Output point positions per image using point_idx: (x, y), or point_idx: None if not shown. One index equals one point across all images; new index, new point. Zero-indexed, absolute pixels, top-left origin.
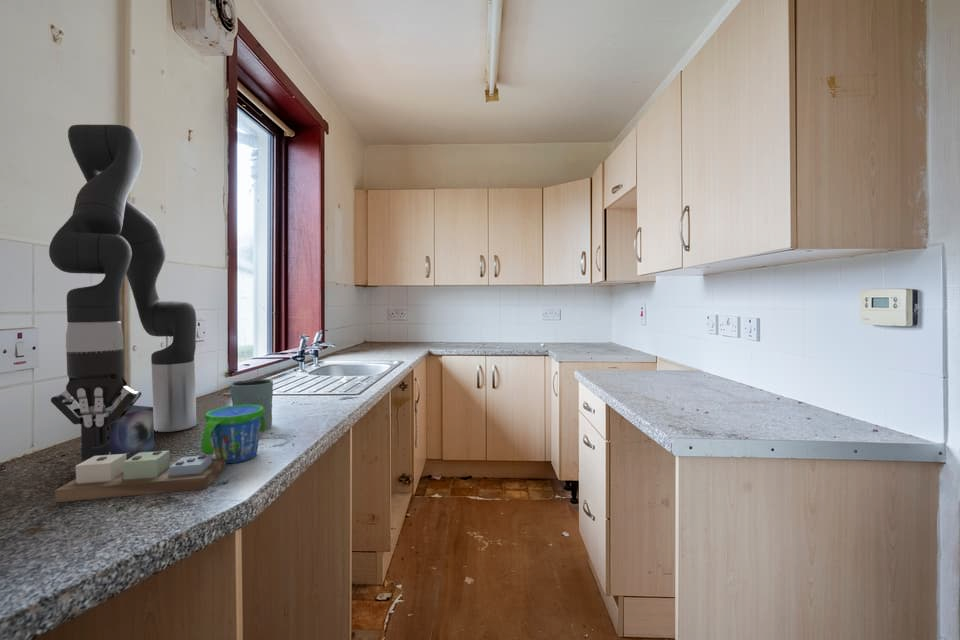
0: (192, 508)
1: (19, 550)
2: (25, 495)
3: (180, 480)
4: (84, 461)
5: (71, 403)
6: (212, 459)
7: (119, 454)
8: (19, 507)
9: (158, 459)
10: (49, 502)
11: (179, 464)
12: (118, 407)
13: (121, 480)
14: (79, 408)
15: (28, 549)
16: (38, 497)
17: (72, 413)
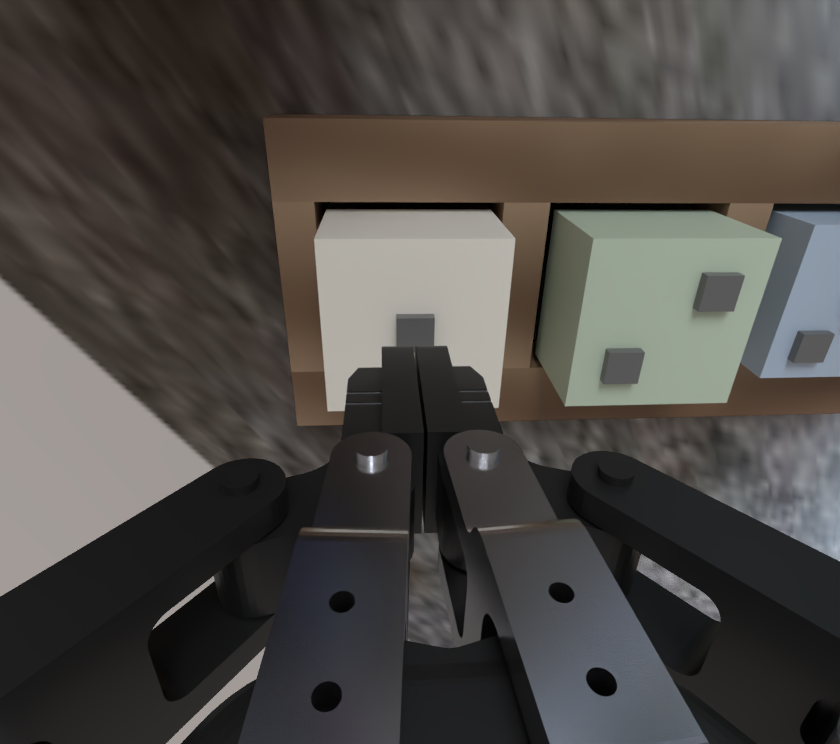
0: (793, 522)
1: (435, 643)
2: (84, 288)
3: (779, 412)
4: (325, 345)
5: (19, 737)
6: None
7: (477, 249)
8: (190, 413)
9: (730, 375)
10: (276, 389)
11: (807, 361)
12: (717, 706)
13: (534, 373)
14: (151, 614)
15: (453, 642)
16: (176, 326)
17: (210, 692)
